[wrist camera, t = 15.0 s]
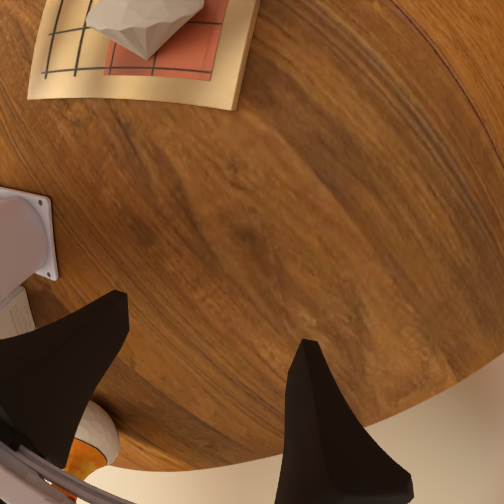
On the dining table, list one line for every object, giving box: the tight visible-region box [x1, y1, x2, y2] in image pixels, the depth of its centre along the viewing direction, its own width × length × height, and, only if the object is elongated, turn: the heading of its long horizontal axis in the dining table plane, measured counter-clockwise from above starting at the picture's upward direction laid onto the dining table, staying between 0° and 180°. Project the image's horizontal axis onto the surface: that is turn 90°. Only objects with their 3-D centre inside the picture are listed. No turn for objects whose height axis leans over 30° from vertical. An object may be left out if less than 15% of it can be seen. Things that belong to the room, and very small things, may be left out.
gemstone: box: [85, 0, 204, 60], centre depth 12 cm, size 6×6×5 cm
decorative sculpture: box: [0, 400, 120, 504], centre depth 21 cm, size 20×8×30 cm, turn 178°
